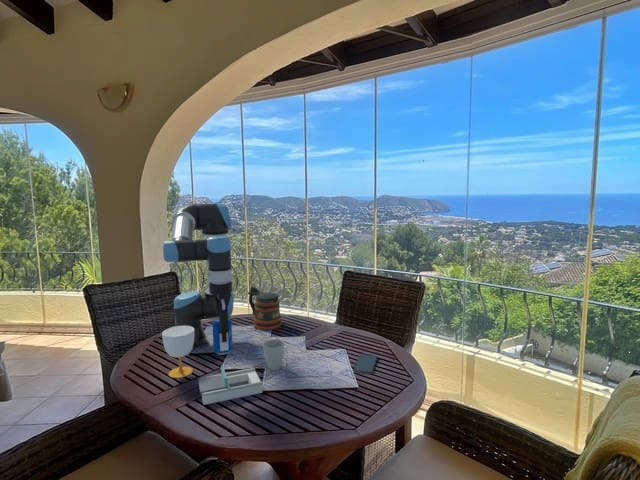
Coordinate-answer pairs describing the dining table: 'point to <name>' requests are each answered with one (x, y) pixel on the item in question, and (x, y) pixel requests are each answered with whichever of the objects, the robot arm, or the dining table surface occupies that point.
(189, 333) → the cup
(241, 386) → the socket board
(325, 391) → the dining table surface
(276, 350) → the cup
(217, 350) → the beverage can
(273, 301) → the beer stein
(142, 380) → the dining table surface
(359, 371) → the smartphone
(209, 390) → the shutter
